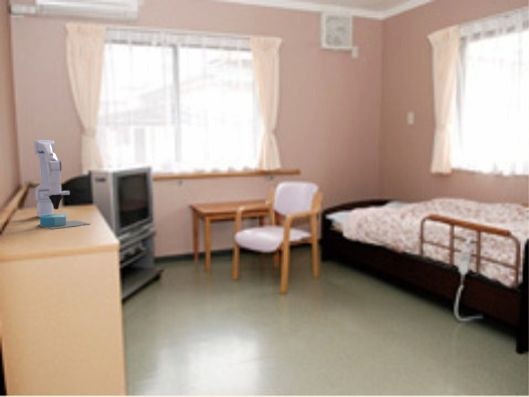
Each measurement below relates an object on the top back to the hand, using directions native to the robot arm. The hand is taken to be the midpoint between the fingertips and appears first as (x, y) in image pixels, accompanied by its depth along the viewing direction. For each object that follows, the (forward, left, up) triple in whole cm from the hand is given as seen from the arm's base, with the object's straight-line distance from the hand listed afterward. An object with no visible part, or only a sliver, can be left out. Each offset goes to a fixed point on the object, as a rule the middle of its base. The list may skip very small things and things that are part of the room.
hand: (56, 209), depth 245 cm
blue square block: (-1, -1, -5) cm, 5 cm away
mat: (+9, 0, -7) cm, 11 cm away
